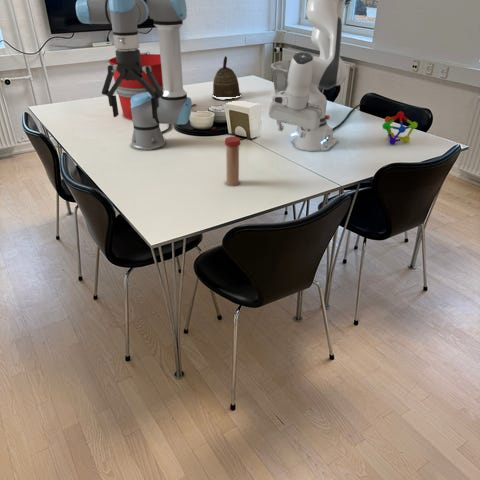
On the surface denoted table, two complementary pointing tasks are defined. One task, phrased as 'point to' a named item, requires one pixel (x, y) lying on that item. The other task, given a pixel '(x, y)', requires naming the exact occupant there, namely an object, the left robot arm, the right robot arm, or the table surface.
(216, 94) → the bell
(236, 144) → the lid
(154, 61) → the bucket
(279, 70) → the bucket
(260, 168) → the table surface
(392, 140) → the educational toy
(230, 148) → the jar
